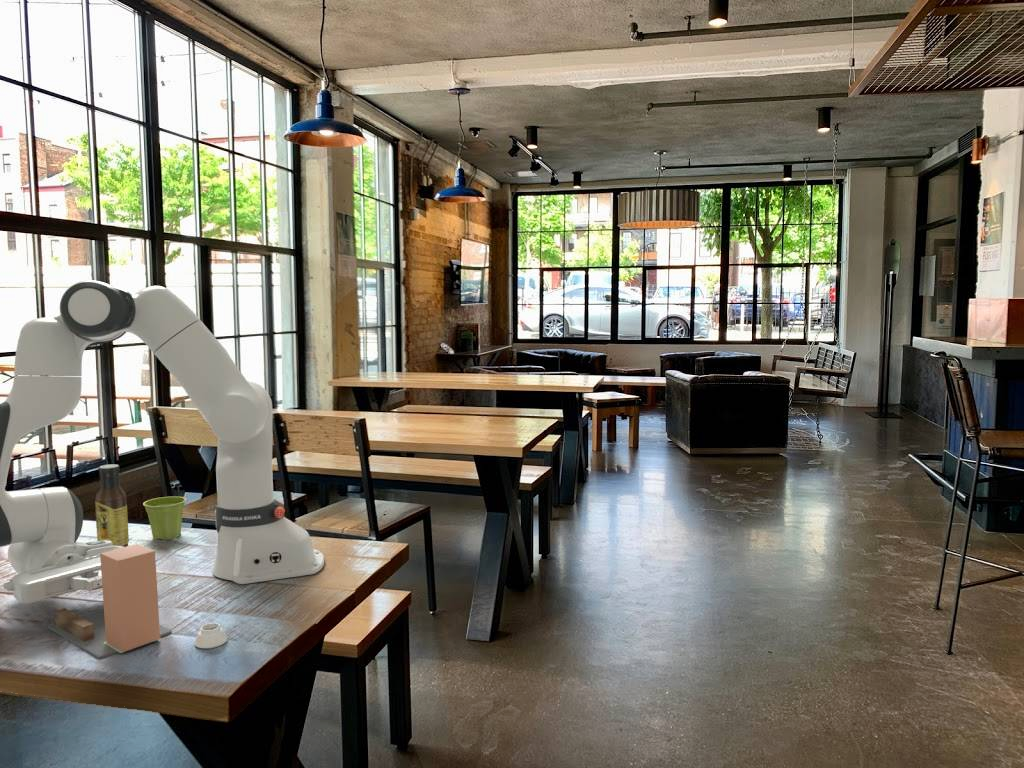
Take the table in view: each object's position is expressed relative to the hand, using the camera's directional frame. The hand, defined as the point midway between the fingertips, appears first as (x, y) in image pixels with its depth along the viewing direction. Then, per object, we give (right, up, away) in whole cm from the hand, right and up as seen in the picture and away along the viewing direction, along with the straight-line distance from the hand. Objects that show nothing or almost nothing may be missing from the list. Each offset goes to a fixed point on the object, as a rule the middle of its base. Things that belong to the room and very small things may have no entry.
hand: (98, 584), depth 134 cm
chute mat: (+3, -8, -1) cm, 8 cm away
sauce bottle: (-18, -3, +40) cm, 44 cm away
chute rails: (0, -7, +1) cm, 8 cm away
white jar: (+22, -9, -6) cm, 24 cm away
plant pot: (-11, -2, +52) cm, 53 cm away
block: (+9, -8, -6) cm, 14 cm away
